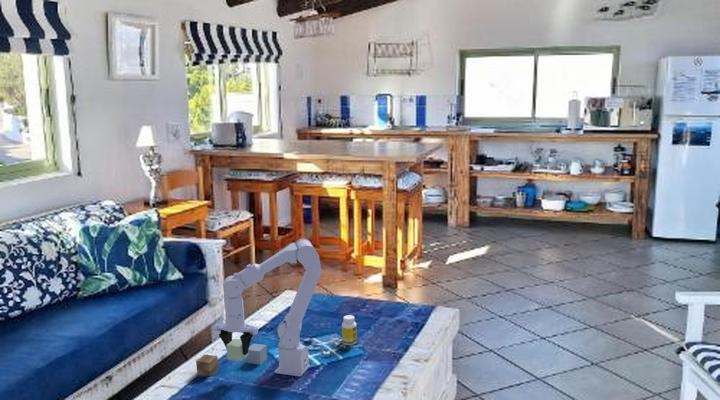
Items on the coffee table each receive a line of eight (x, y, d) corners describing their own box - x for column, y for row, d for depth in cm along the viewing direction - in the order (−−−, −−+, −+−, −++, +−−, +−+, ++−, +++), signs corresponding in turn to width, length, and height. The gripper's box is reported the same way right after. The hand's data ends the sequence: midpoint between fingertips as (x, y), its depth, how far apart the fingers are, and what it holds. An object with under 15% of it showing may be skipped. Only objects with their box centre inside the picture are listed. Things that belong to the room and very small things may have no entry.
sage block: (248, 354, 202) (247, 340, 201) (241, 361, 198) (240, 346, 197) (235, 352, 204) (234, 338, 203) (227, 359, 199) (226, 345, 198)
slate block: (267, 358, 215) (266, 345, 214) (260, 364, 210) (259, 351, 209) (254, 356, 216) (253, 343, 215) (247, 363, 212) (246, 349, 211)
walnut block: (218, 369, 207) (217, 356, 206) (210, 376, 203) (209, 362, 202) (205, 368, 209) (204, 354, 208) (197, 375, 204) (196, 360, 203)
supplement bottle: (355, 346, 222) (354, 320, 220) (340, 345, 223) (339, 319, 221) (358, 339, 227) (357, 314, 225) (344, 338, 228) (343, 313, 226)
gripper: (261, 310, 199) (263, 349, 202) (220, 307, 203) (223, 345, 206) (251, 318, 193) (254, 359, 195) (209, 315, 197) (213, 354, 200)
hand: (238, 352), depth 200 cm, fingers closed on sage block, 5 cm apart
